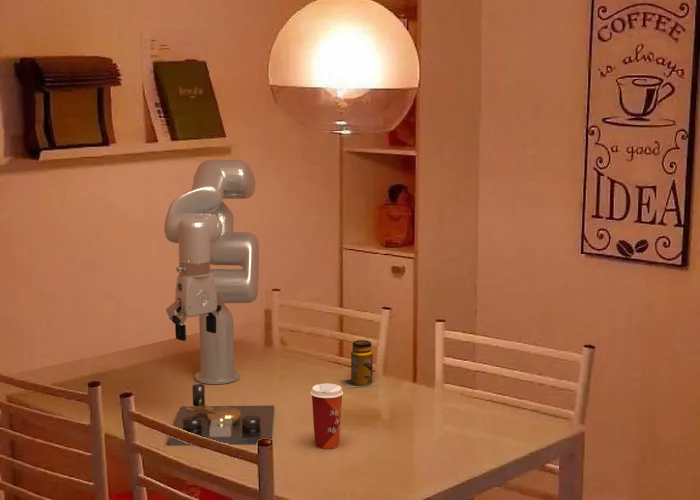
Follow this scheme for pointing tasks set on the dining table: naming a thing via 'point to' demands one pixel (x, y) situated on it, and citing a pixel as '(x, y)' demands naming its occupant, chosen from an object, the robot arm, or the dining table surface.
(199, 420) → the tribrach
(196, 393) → the crank dial
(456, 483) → the dining table surface
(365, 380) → the condiment
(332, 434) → the paper cup
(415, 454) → the dining table surface
